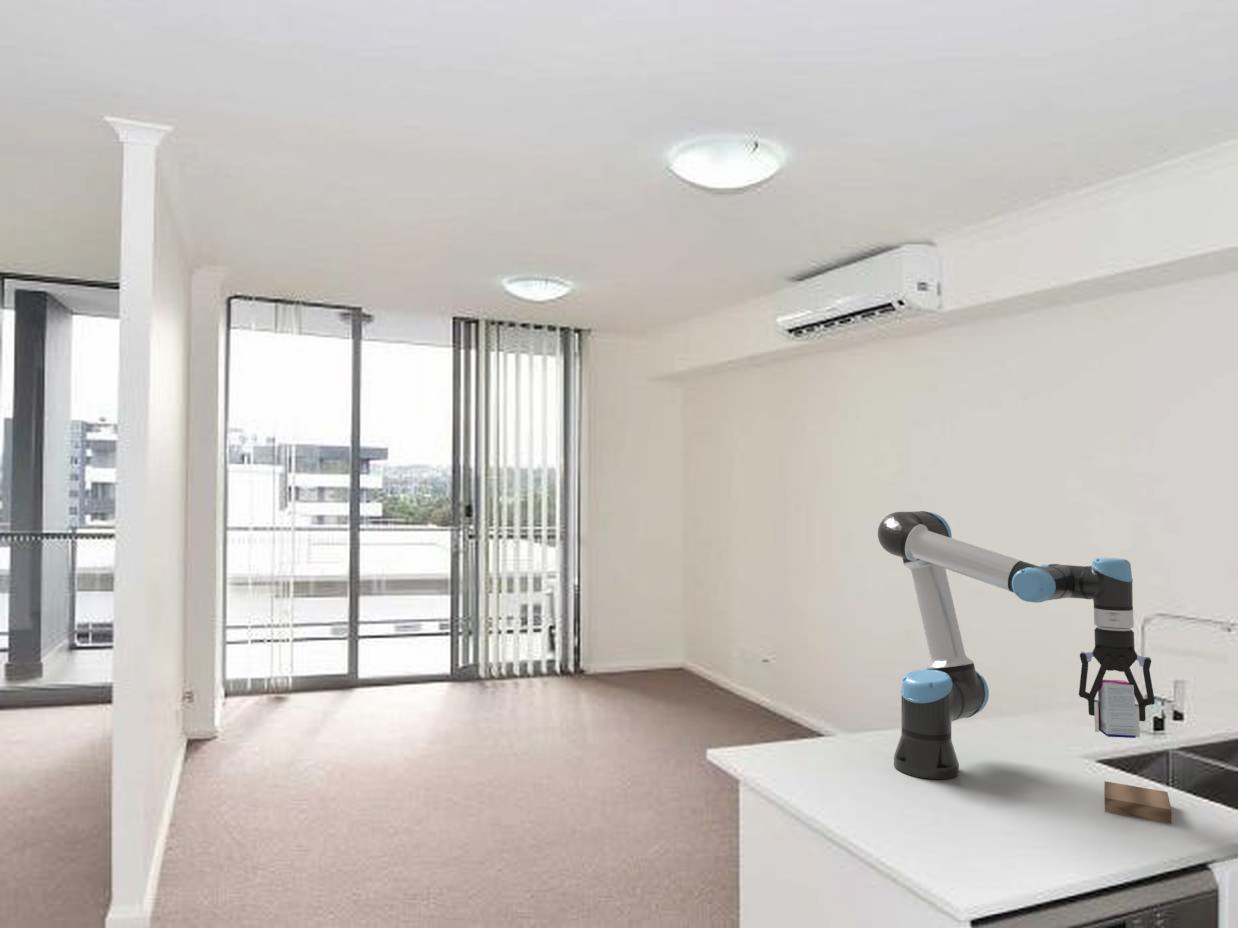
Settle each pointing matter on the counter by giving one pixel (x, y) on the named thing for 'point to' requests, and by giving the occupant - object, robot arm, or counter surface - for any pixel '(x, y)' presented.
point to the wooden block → (1137, 802)
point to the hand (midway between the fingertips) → (1117, 732)
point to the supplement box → (1116, 709)
